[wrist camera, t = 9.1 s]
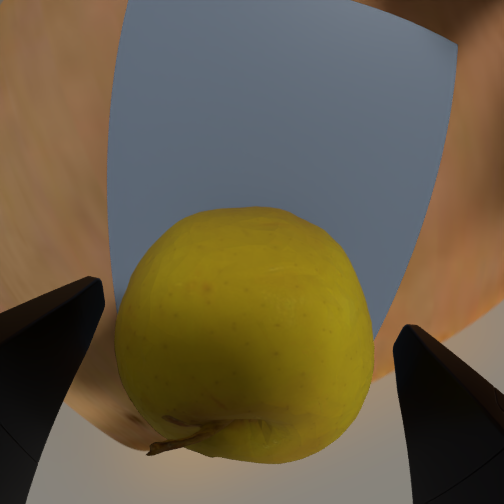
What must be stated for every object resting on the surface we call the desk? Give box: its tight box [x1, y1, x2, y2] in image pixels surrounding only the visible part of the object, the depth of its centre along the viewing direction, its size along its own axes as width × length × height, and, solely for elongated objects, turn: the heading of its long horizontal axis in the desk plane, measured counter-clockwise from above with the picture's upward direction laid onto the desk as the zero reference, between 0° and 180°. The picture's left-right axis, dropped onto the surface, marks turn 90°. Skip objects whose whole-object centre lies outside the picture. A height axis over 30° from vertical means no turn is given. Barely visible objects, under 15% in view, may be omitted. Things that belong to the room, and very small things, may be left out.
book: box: [107, 0, 458, 341], centre depth 12 cm, size 12×20×3 cm, turn 172°
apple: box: [114, 206, 374, 464], centre depth 7 cm, size 6×6×8 cm
